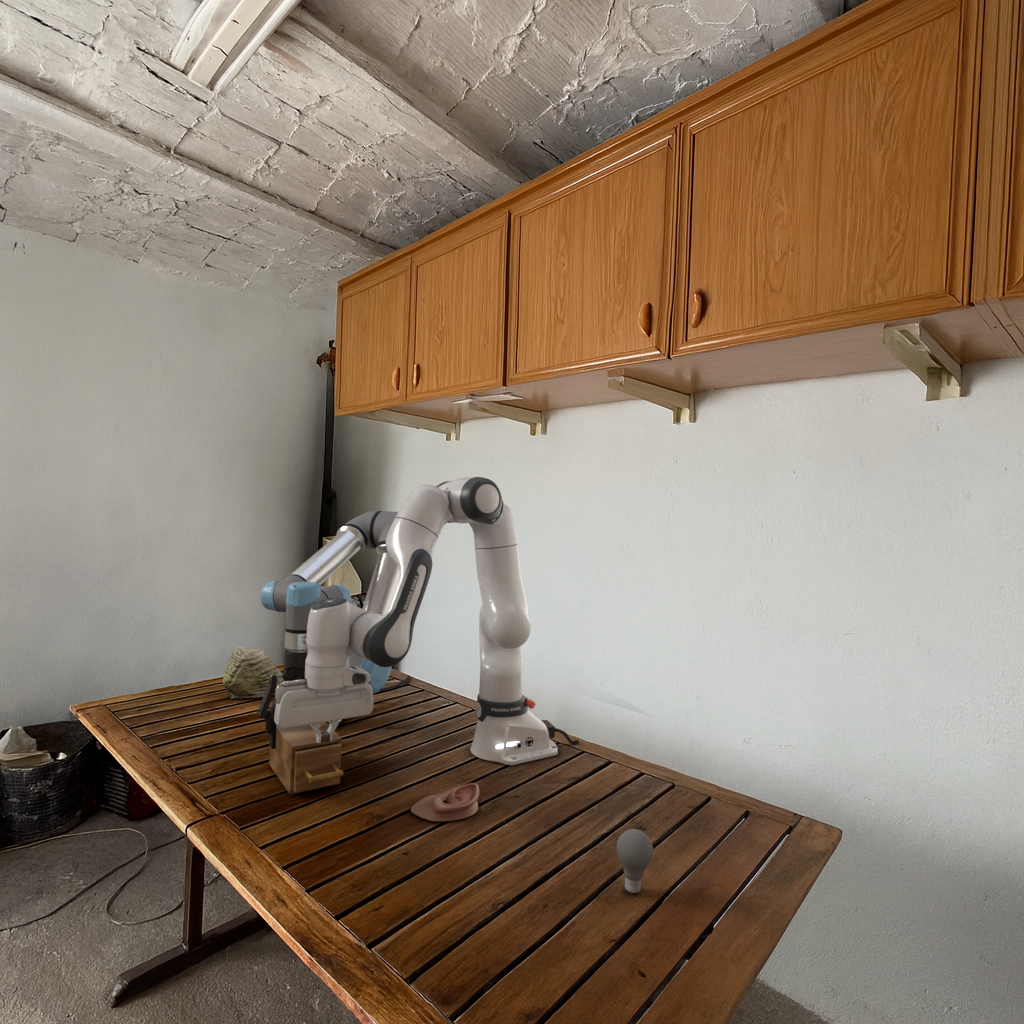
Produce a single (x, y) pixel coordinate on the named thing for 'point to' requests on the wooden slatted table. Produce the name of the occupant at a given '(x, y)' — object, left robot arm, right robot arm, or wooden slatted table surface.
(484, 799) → the wooden slatted table surface
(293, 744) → the cabinet
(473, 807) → the anatomical model
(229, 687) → the fossil
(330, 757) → the drawer
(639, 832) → the light bulb
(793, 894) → the wooden slatted table surface
